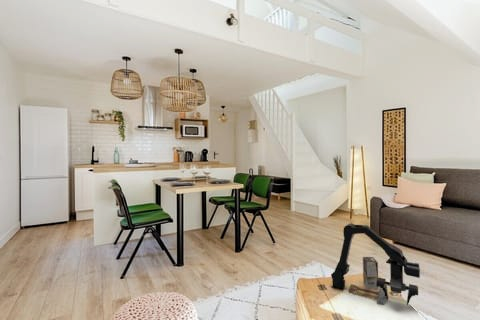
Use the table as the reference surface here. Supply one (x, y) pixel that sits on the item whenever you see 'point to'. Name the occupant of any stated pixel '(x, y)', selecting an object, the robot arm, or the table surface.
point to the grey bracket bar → (380, 297)
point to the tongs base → (362, 290)
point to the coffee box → (370, 272)
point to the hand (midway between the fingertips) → (397, 301)
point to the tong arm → (364, 293)
